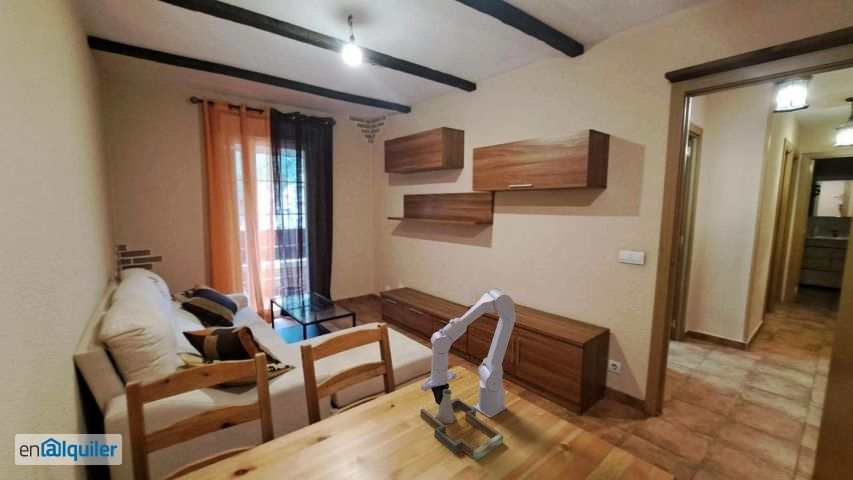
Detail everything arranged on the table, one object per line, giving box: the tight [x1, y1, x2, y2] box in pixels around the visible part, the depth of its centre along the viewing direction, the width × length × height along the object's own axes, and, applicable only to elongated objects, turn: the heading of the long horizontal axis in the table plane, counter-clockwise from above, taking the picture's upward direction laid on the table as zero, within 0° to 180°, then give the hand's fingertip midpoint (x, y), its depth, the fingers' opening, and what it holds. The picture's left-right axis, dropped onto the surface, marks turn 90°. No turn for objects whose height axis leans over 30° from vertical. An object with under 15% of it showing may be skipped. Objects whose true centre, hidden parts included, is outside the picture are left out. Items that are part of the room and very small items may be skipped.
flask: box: [434, 388, 456, 425], centre depth 118 cm, size 7×7×10 cm
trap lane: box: [420, 397, 504, 462], centre depth 114 cm, size 18×26×2 cm
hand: (438, 403), depth 121 cm, fingers closed, pressing on flask
